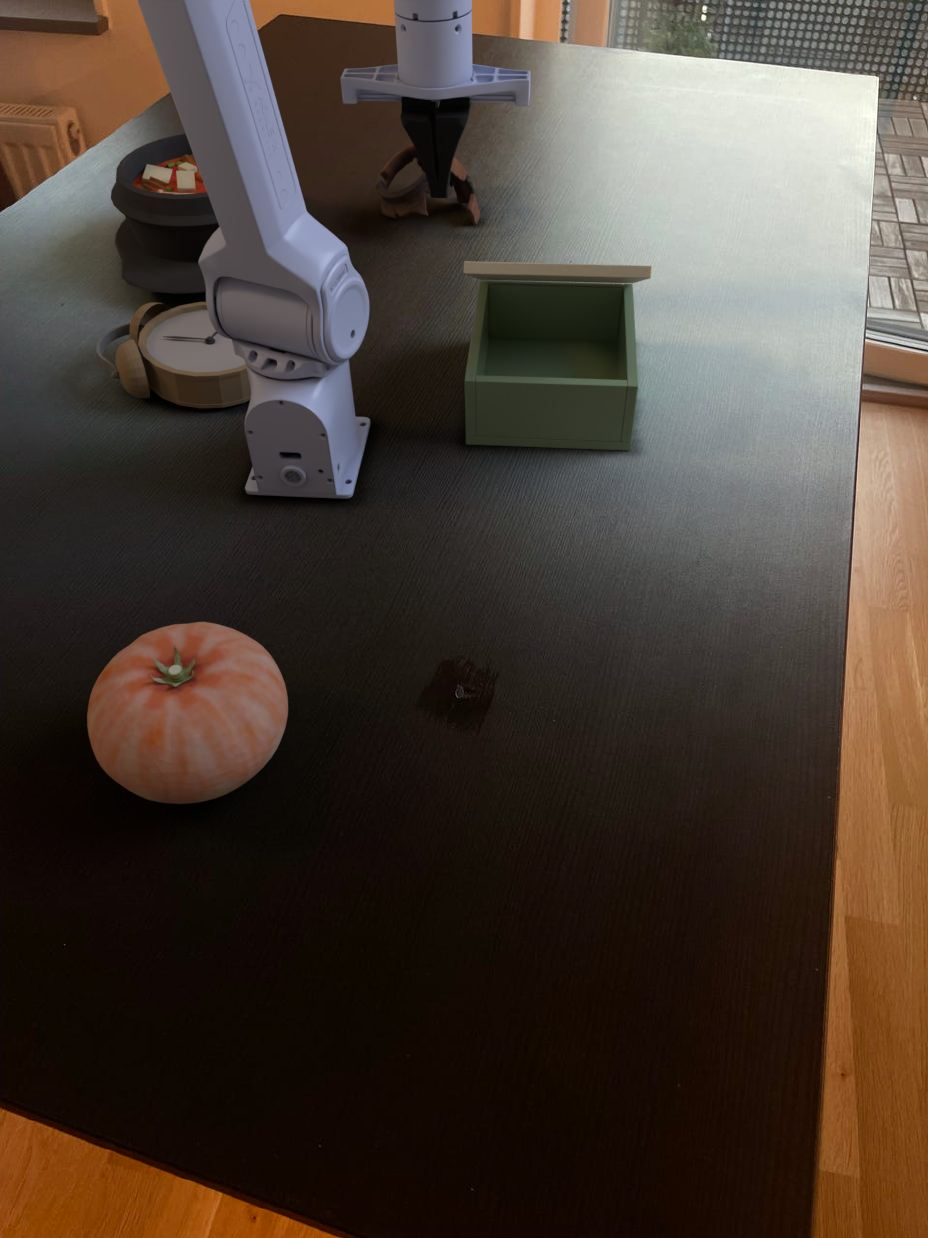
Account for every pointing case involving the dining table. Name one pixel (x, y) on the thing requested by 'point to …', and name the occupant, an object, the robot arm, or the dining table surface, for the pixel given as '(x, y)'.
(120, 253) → the casserole
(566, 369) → the open box
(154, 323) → the alarm clock
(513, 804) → the dining table surface
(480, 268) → the box lid
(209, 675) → the tomato
